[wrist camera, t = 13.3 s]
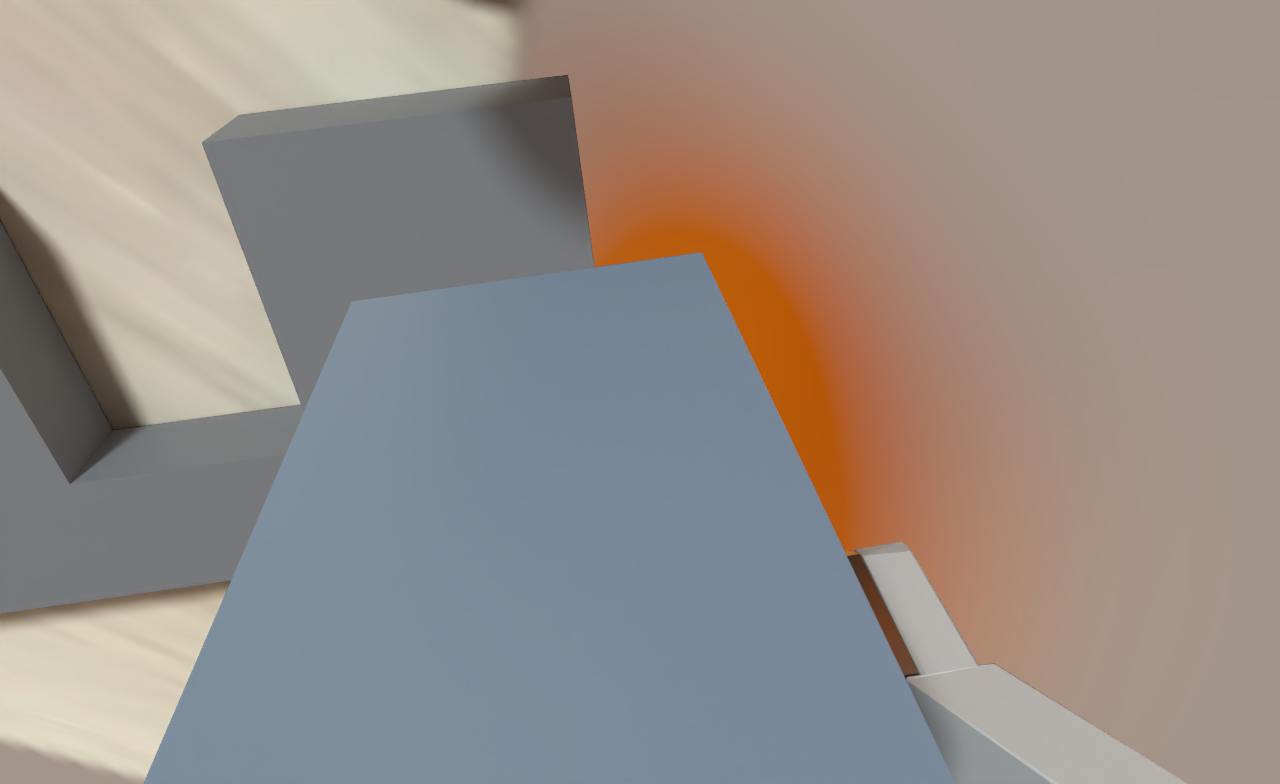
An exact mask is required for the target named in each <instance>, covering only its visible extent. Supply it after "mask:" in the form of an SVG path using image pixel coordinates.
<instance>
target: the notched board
mask: <svg viewBox="0 0 1280 784" xmlns="http://www.w3.org/2000/svg"><path fill="white" fill-rule="evenodd" d="M202 145H203V147H204V150H205V152H206V155H207V158H208V160H209V163H210V166H211V168H212V171H213V174H214V176H215V179H216V181H217V184H218V187H219V189H220V192H221V195H222V197H223V200H224V202H225V205H226V208H227V210H228V213H229V216H230V218H231V221H232V224H233V226H234V229H235V231H236V234H237V237H238V239H239V242H240V245H241V247H242V250H243V253H244V255H245V258H246V260H247V263H248V266H249V268H250V271H251V274H252V276H253V279H254V282H255V284H256V287H257V289H258V292H259V295H260V297H261V300H262V303H263V305H264V308H265V310H266V313H267V316H268V318H269V321H270V324H271V326H272V329H273V332H274V334H275V337H276V339H277V342H278V345H279V347H280V350H281V353H282V355H283V358H284V361H285V363H286V366H287V368H288V371H289V374H290V376H291V379H292V382H293V384H294V387H295V390H296V392H297V395H298V397H299V400H300V403H301V405H295V406H287V407H280V408H273V409H265V410H258V411H251V412H243V413H236V414H229V415H221V416H214V417H207V418H199V419H192V420H185V421H177V422H170V423H163V424H155V425H148V426H141V427H134V428H126V429H119V430H112V428H111V426H110V424H109V422H108V420H107V419H106V417H105V415H104V413H103V411H102V409H101V407H100V406H99V404H98V402H97V400H96V398H95V396H94V394H93V393H92V391H91V389H90V387H89V385H88V383H87V381H86V380H85V378H84V376H83V374H82V372H81V370H80V368H79V367H78V365H77V363H76V361H75V359H74V357H73V355H72V354H71V352H70V350H69V348H68V346H67V344H66V342H65V341H64V339H63V337H62V335H61V333H60V331H59V329H58V328H57V326H56V324H55V322H54V320H53V318H52V316H51V315H50V313H49V311H48V309H47V307H46V305H45V303H44V302H43V300H42V298H41V296H40V294H39V292H38V290H37V289H36V287H35V285H34V283H33V281H32V279H31V277H30V276H29V274H28V272H27V270H26V268H25V266H24V264H23V262H22V261H21V259H20V257H19V255H18V253H17V251H16V249H15V248H14V246H13V244H12V242H11V240H10V238H9V236H8V235H7V233H6V231H5V229H4V227H3V225H2V223H1V222H0V614H3V613H10V612H17V611H24V610H31V609H38V608H45V607H51V606H58V605H65V604H72V603H79V602H86V601H93V600H100V599H107V598H114V597H121V596H128V595H135V594H141V593H148V592H155V591H162V590H169V589H176V588H183V587H190V586H197V585H204V584H211V583H218V582H224V581H231V580H232V577H233V575H234V573H235V570H236V568H237V566H238V564H239V561H240V559H241V557H242V554H243V552H244V550H245V547H246V545H247V543H248V540H249V538H250V536H251V533H252V531H253V529H254V526H255V524H256V522H257V519H258V517H259V515H260V513H261V510H262V508H263V506H264V503H265V501H266V499H267V496H268V494H269V492H270V489H271V487H272V485H273V482H274V480H275V478H276V475H277V473H278V471H279V469H280V466H281V464H282V462H283V459H284V457H285V455H286V452H287V450H288V448H289V445H290V443H291V441H292V438H293V436H294V434H295V431H296V429H297V427H298V424H299V422H300V420H301V418H302V415H303V413H304V411H305V408H306V406H307V404H308V401H309V399H310V397H311V394H312V392H313V390H314V387H315V385H316V383H317V380H318V378H319V376H320V373H321V371H322V369H323V367H324V364H325V362H326V360H327V357H328V355H329V353H330V350H331V348H332V346H333V343H334V341H335V339H336V336H337V334H338V332H339V329H340V327H341V325H342V322H343V320H344V318H345V316H346V313H347V311H348V309H349V306H350V304H351V302H352V301H359V300H366V299H373V298H380V297H388V296H395V295H402V294H409V293H416V292H423V291H430V290H437V289H444V288H451V287H459V286H466V285H473V284H480V283H487V282H494V281H501V280H508V279H515V278H523V277H530V276H537V275H544V274H551V273H558V272H565V271H572V270H579V269H587V268H594V260H593V253H592V245H591V238H590V230H589V223H588V216H587V208H586V201H585V193H584V186H583V179H582V171H581V164H580V157H579V149H578V142H577V134H576V128H575V119H574V112H573V105H572V98H571V92H570V85H569V78H568V75H563V76H555V77H547V78H538V79H530V80H522V81H514V82H506V83H498V84H489V85H481V86H473V87H465V88H457V89H448V90H440V91H432V92H424V93H416V94H408V95H399V96H391V97H383V98H375V99H367V100H358V101H350V102H342V103H334V104H326V105H318V106H309V107H301V108H293V109H285V110H277V111H268V112H260V113H252V114H244V115H239V116H237V117H236V118H235V119H233V120H232V121H230V122H229V123H228V124H226V125H225V126H224V127H222V128H221V129H220V130H218V131H217V132H216V133H214V134H213V135H211V136H210V137H209V138H207V139H206V140H205V141H203V142H202Z"/></svg>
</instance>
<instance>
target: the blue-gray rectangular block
mask: <svg viewBox="0 0 1280 784" xmlns="http://www.w3.org/2000/svg"><path fill="white" fill-rule="evenodd" d="M144 784H956V783H955V781H954V779H953V777H952V775H951V773H950V771H949V769H948V767H947V765H946V763H945V760H944V758H943V756H942V754H941V752H940V750H939V748H938V746H937V744H936V742H935V740H934V737H933V735H932V733H931V731H930V729H929V727H928V725H927V723H926V721H925V719H924V717H923V714H922V712H921V710H920V708H919V706H918V704H917V702H916V700H915V698H914V696H913V694H912V691H911V689H910V687H909V685H908V683H907V681H906V679H905V677H904V675H903V673H902V671H901V668H900V666H899V664H898V662H897V660H896V658H895V656H894V654H893V652H892V650H891V648H890V645H889V643H888V641H887V639H886V637H885V635H884V633H883V631H882V629H881V627H880V624H879V622H878V620H877V618H876V616H875V614H874V612H873V610H872V608H871V606H870V604H869V601H868V599H867V597H866V595H865V593H864V591H863V589H862V587H861V585H860V583H859V581H858V578H857V576H856V574H855V572H854V570H853V568H852V566H851V564H850V562H849V560H848V558H847V555H846V553H845V551H844V549H843V547H842V545H841V543H840V541H839V539H838V537H837V535H836V532H835V530H834V528H833V526H832V524H831V522H830V520H829V518H828V516H827V514H826V512H825V509H824V508H823V505H822V503H821V501H820V499H819V497H818V495H817V493H816V491H815V489H814V487H813V484H812V482H811V480H810V478H809V476H808V474H807V472H806V470H805V468H804V466H803V464H802V461H801V459H800V457H799V455H798V453H797V451H796V449H795V447H794V445H793V442H792V440H791V438H790V436H789V434H788V432H787V430H786V428H785V426H784V424H783V422H782V419H781V418H780V415H779V413H778V411H777V409H776V407H775V405H774V403H773V401H772V399H771V396H770V395H769V392H768V390H767V388H766V386H765V384H764V382H763V380H762V378H761V376H760V373H759V371H758V369H757V368H756V365H755V363H754V361H753V359H752V357H751V355H750V353H749V351H748V348H747V346H746V344H745V342H744V340H743V338H742V336H741V334H740V332H739V330H738V327H737V325H736V323H735V321H734V319H733V317H732V315H731V313H730V311H729V309H728V307H727V304H726V302H725V300H724V298H723V296H722V294H721V292H720V290H719V288H718V286H717V284H716V281H715V279H714V277H713V275H712V273H711V271H710V269H709V267H708V265H707V263H706V261H705V258H704V256H703V254H702V253H701V252H700V253H693V254H686V255H679V256H673V257H665V258H658V259H651V260H643V261H637V262H629V263H622V264H615V265H608V266H601V267H594V268H587V269H579V270H572V271H565V272H558V273H551V274H544V275H537V276H530V277H523V278H515V279H508V280H501V281H494V282H487V283H480V284H473V285H466V286H459V287H451V288H444V289H437V290H430V291H423V292H416V293H409V294H402V295H395V296H388V297H380V298H373V299H366V300H359V301H352V302H351V304H350V306H349V309H348V311H347V313H346V316H345V318H344V320H343V322H342V325H341V327H340V329H339V332H338V334H337V336H336V339H335V341H334V343H333V346H332V348H331V350H330V353H329V355H328V357H327V360H326V362H325V364H324V367H323V369H322V371H321V373H320V376H319V378H318V380H317V383H316V385H315V387H314V390H313V392H312V394H311V397H310V399H309V401H308V404H307V406H306V408H305V411H304V413H303V415H302V418H301V420H300V422H299V424H298V427H297V429H296V431H295V434H294V436H293V438H292V441H291V443H290V445H289V448H288V450H287V452H286V455H285V457H284V459H283V462H282V464H281V466H280V469H279V471H278V473H277V475H276V478H275V480H274V482H273V485H272V487H271V489H270V492H269V494H268V496H267V499H266V501H265V503H264V506H263V508H262V510H261V513H260V515H259V517H258V519H257V522H256V524H255V526H254V529H253V531H252V533H251V536H250V538H249V540H248V543H247V545H246V547H245V550H244V552H243V554H242V557H241V559H240V561H239V564H238V566H237V568H236V570H235V573H234V575H233V577H232V580H231V582H230V584H229V587H228V589H227V591H226V594H225V596H224V598H223V601H222V603H221V605H220V608H219V610H218V612H217V615H216V617H215V619H214V621H213V624H212V626H211V628H210V631H209V633H208V635H207V638H206V640H205V642H204V645H203V647H202V649H201V652H200V654H199V656H198V659H197V661H196V663H195V666H194V668H193V670H192V672H191V675H190V677H189V679H188V682H187V684H186V686H185V689H184V691H183V693H182V696H181V698H180V700H179V703H178V705H177V707H176V710H175V712H174V714H173V716H172V719H171V721H170V723H169V726H168V728H167V730H166V733H165V735H164V737H163V740H162V742H161V744H160V747H159V749H158V751H157V754H156V756H155V758H154V761H153V763H152V765H151V767H150V770H149V772H148V774H147V777H146V779H145V781H144Z"/></svg>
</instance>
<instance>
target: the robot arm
mask: <svg viewBox="0 0 1280 784" xmlns="http://www.w3.org/2000/svg"><path fill="white" fill-rule="evenodd" d="M845 553H846V555H847V558H848V560H849V562H850V564H851V566H852V568H853V570H854V572H855V574H856V576H857V578H858V581H859V583H860V585H861V587H862V589H863V591H864V593H865V595H866V597H867V599H868V601H869V604H870V606H871V608H872V610H873V612H874V614H875V616H876V618H877V620H878V622H879V624H880V627H881V629H882V631H883V633H884V635H885V637H886V639H887V641H888V643H889V645H890V648H891V650H892V652H893V654H894V656H895V658H896V660H897V662H898V664H899V666H900V668H901V671H902V673H903V675H904V677H905V679H906V681H907V683H908V685H909V687H910V689H911V691H912V694H913V696H914V698H915V700H916V702H917V704H918V706H919V708H920V710H921V712H922V714H923V717H924V719H925V721H926V723H927V725H928V727H929V729H930V731H931V733H932V735H933V737H934V740H935V742H936V744H937V746H938V748H939V750H940V752H941V754H942V756H943V758H944V760H945V763H946V765H947V767H948V769H949V771H950V773H951V775H952V777H953V779H954V781H955V783H956V784H1188V783H1186V782H1184V781H1183V780H1181V779H1179V778H1178V777H1176V776H1175V775H1173V774H1171V773H1170V772H1168V771H1167V770H1165V769H1163V768H1162V767H1160V766H1158V765H1157V764H1155V763H1154V762H1152V761H1151V760H1149V759H1147V758H1146V757H1144V756H1142V755H1141V754H1139V753H1138V752H1136V751H1134V750H1132V749H1131V748H1130V747H1128V746H1126V745H1125V744H1123V743H1122V742H1120V741H1118V740H1117V739H1115V738H1114V737H1112V736H1110V735H1109V734H1107V733H1105V732H1104V731H1102V730H1101V729H1099V728H1097V727H1096V726H1094V725H1092V724H1091V723H1089V722H1088V721H1086V720H1085V719H1083V718H1081V717H1079V716H1078V715H1076V714H1075V713H1073V712H1071V711H1070V710H1068V709H1067V708H1065V707H1064V706H1062V705H1060V704H1059V703H1057V702H1056V701H1054V700H1052V699H1051V698H1049V697H1048V696H1046V695H1044V694H1043V693H1041V692H1039V691H1038V690H1036V689H1035V688H1033V687H1031V686H1029V685H1028V684H1027V683H1025V682H1023V681H1022V680H1020V679H1019V678H1017V677H1015V676H1014V675H1012V674H1011V673H1009V672H1007V671H1006V670H1004V669H1002V668H1001V667H999V666H998V665H996V664H994V663H993V664H985V665H978V663H977V661H976V659H975V658H974V656H973V654H972V653H971V651H970V649H969V648H968V646H967V644H966V642H965V641H964V639H963V637H962V636H961V634H960V632H959V631H958V629H957V627H956V625H955V624H954V622H953V620H952V619H951V617H950V615H949V614H948V612H947V610H946V609H945V607H944V605H943V603H942V602H941V600H940V598H939V597H938V595H937V594H936V592H935V590H934V588H933V586H932V585H931V583H930V581H929V580H928V578H927V576H926V575H925V573H924V571H923V570H922V568H921V566H920V565H919V563H918V561H917V560H916V558H915V556H914V554H913V553H912V551H911V549H910V548H909V547H908V546H906V545H905V544H904V543H902V542H897V543H891V544H885V545H879V546H873V547H867V548H861V549H856V550H854V551H851V550H849V551H845Z"/></svg>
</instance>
